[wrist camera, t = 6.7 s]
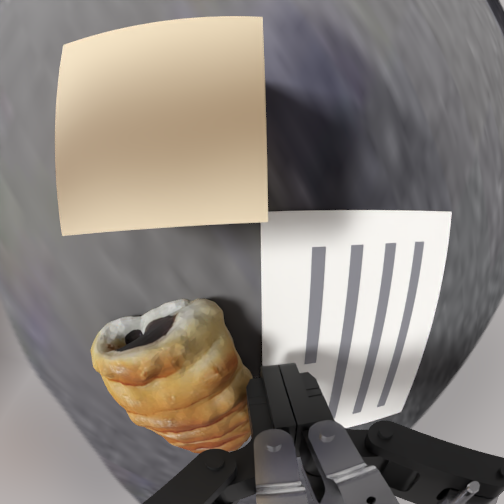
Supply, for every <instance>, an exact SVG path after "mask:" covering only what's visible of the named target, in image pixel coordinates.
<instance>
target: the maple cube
mask: <svg viewBox="0 0 504 504" xmlns="http://www.w3.org/2000/svg"><path fill="white" fill-rule="evenodd" d="M55 165H56V184H57V197H58V207H59V216H60V224H61V231H62V236H66V235H76V234H88V233H99V232H111V231H124V230H137V229H151V228H165V227H181V226H198V225H216V224H236V223H259V222H268V183H267V136H266V100H265V70H264V44H263V21H262V17H247V16H222V17H199V18H187V19H177V20H168V21H161V22H154V23H148V24H142V25H136V26H131V27H126V28H122V29H117V30H113V31H109V32H105V33H101V34H97V35H94V36H90V37H87V38H83V39H80V40H77V41H74V42H71V43H68V44H65V45H63V50H62V56H61V63H60V71H59V79H58V89H57V101H56V119H55Z"/></svg>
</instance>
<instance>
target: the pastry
mask: <svg viewBox="0 0 504 504" xmlns="http://www.w3.org/2000/svg"><path fill="white" fill-rule="evenodd" d="M91 355H92V361H93V367H94V368H95V370H96V371H97V372H99V373H100V374H101V376H102V378H103V380H104V383H105V385H106V387H107V389H108V391H109V392H110V394H111V395H112V396H113V398H114V399H115V400H116V401H117V402H118V403H119V404H120V405H121V406H122V407H123V408H124V409H125V410H126V411H127V413H128V415H129V417H130V419H131V420H132V421H133V422H134V423H135V424H136V425H138V426H143V427H146V428H147V429H150V430H152V431H154V432H156V433H157V434H159V435H161V436H163V437H164V438H165V439H166V440H167V441H168V442H169V443H171V444H172V445H175V446H178V447H180V448H183V449H186V450H190V451H191V452H194V453H201V452H203V451H205V450H209V449H222V450H225V451H235V450H238V449H239V448H240V447H241V446H242V444H243V443H244V442H246V441H247V440H248V438H249V437H250V435H251V430H250V423H249V416H248V408H247V392H246V387H247V385H248V382H249V380H250V379H253V377H252V375H251V373H250V371H249V370H248V368H246V367H245V366H244V365H243V364H242V361H241V358H240V356H239V354H238V353H237V351H236V350H235V346H234V342H233V338H232V336H231V334H230V332H229V331H228V329H227V327H226V326H225V323H224V316H223V311H222V309H221V308H220V307H219V306H218V305H217V304H216V303H215V302H213V301H210V300H207V299H196V300H194V301H189V300H187V299H180V300H175V301H171V302H167V303H164V304H163V305H161V306H160V307H158V308H155V309H152V310H151V311H149V312H147V313H145V314H144V315H142V316H139V317H133V316H130V317H123V318H119V319H117V320H114V321H111V322H109V323H108V324H106V325H105V326H104V327H103V328H102V329H101V330H100V332H99V333H98V334H97V336H96V338H95V340H94V342H93V345H92V348H91Z"/></svg>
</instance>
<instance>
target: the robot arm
mask: <svg viewBox="0 0 504 504" xmlns="http://www.w3.org/2000/svg"><path fill="white" fill-rule="evenodd" d="M260 376H261V378H255V379H250V380H249V382H248V385H247V387H246V392H247V408H248V416H249V423H250V430H251V437H252V439H251V441H250V442H249V443H248V444H247V445H246V446H245V447H243V448H241V449H239V450H236V451H233V452H230V453H229V452H228V451H225V450H222V449H209V450H205V451H203V452H201V453H200V454H199V455H198V456H197V457H196V458H195V459H194V460H192V461H191V462H190V463H189V464H188V465H187V466H186V467H185V468H184V469H183V470H182V471H180V472H179V473H178V474H177V475H176V476H175V477H174V478H173V479H171V480H170V481H169V482H168V483H167V484H166V485H164V486H163V487H162V488H161V489H160V490H159V491H157V492H156V493H155V494H154V495H153V496H151V497H150V498H149V499H148V500H146V501H145V502H144V503H143V504H237V503H238V501H239V500H240V499H243V498H245V497H248V496H251V495H253V494H256V501H257V504H308V501H307V496H306V491H305V488H304V486H303V485H302V484H301V480H300V474H299V469H298V463H297V457H301V460H302V474H303V476H304V479H305V481H306V484H307V486H308V489H309V491H310V494H311V496H312V499H313V501H314V504H399V502H398V501H397V499H396V497H395V496H397V497H399V498H402V499H405V500H407V501H410V502H413V503H415V504H496V502H497V499H498V496H499V495H500V494H501V493H502V492H503V491H504V458H502V457H498V456H494V455H490V454H486V453H483V452H479V451H476V450H472V449H469V448H465V447H462V446H459V445H455V444H452V443H449V442H446V441H443V440H440V439H437V438H434V437H431V436H429V435H426V434H423V433H420V432H418V431H415V430H412V429H410V428H407V427H404V426H402V425H399V424H397V423H394V422H391V421H379V422H376V423H374V424H373V425H372V426H371V427H370V428H369V430H351V429H346V428H344V427H343V426H342V425H341V424H339V423H337V422H336V421H335V420H334V418H333V416H332V414H331V411H330V409H329V407H328V405H327V402H326V400H325V398H324V396H323V393H322V391H321V389H320V387H319V385H318V382H317V380H316V378H315V377H313V376H312V375H311V374H310V373H309V372H304V373H299V371H298V368H297V365H296V363H287V364H278V365H270V366H261V367H260Z"/></svg>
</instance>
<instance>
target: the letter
mask: <svg viewBox="0 0 504 504" xmlns="http://www.w3.org/2000/svg"><path fill="white" fill-rule="evenodd" d="M451 214H452V212H447V211H412V210H308V211H270V212H268V222H260V223H261V291H262V366H270V365H278V364H287V363H296V365H297V368H298V371H299V373H304V372H309V373H310V374H311V375H312V376H313V377H315V378H316V380H317V382H318V385H319V387H320V389H321V391H322V393H323V396H324V398H325V400H326V402H327V405H328V407H329V409H330V411H331V414H332V416H333V418H334V420H335V421H336V422H337V423H339V424H341V425H342V426H343V427H344V428H348V427H352V426H356V425H360V424H364V423H367V422H371V421H374V420H377V419H381V418H384V417H387V416H390V415H393V414H396V413H399V412H401V411H402V408H403V406H404V404H405V401H406V399H407V397H408V394H409V392H410V389H411V386H412V384H413V381H414V379H415V376H416V373H417V370H418V368H419V365H420V362H421V359H422V356H423V353H424V349H425V346H426V343H427V340H428V336H429V333H430V329H431V326H432V322H433V318H434V314H435V310H436V306H437V302H438V298H439V293H440V288H441V284H442V278H443V273H444V268H445V262H446V255H447V249H448V242H449V234H450V225H451Z"/></svg>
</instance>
